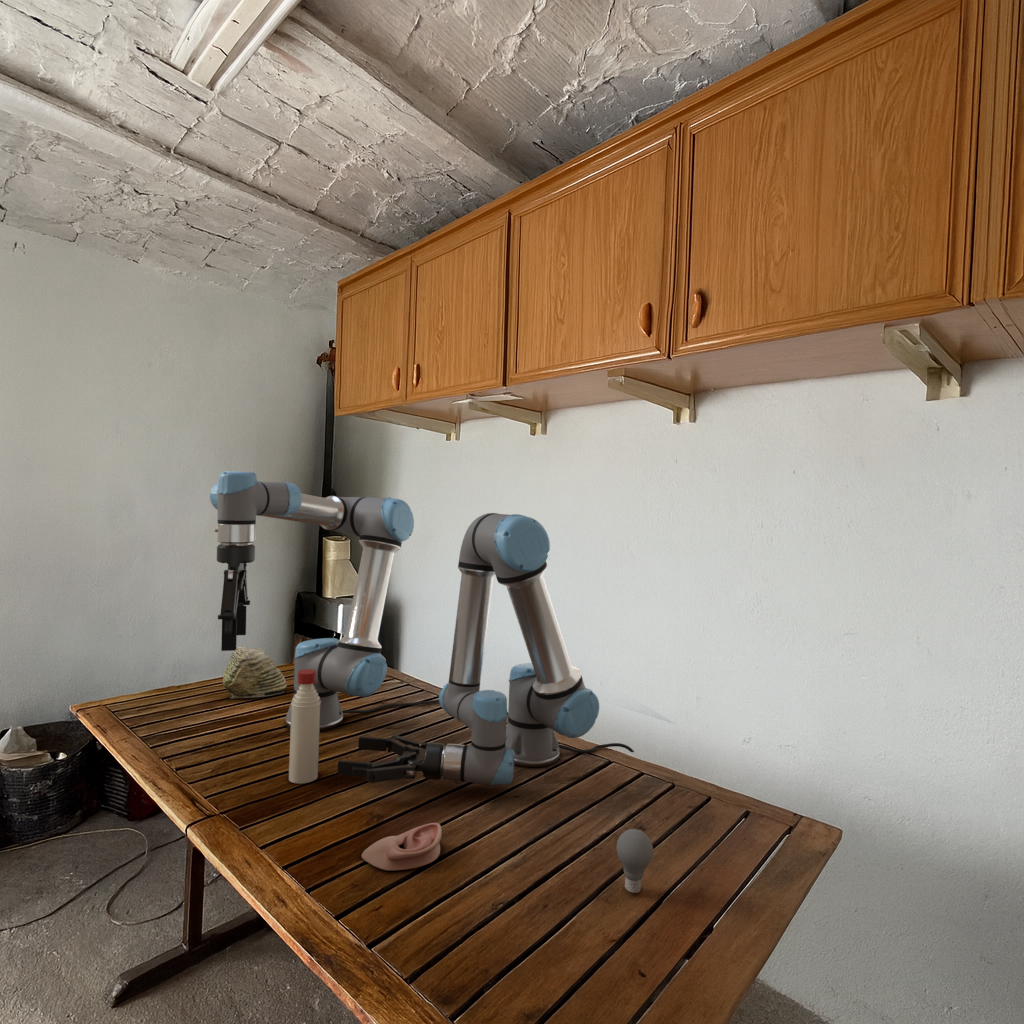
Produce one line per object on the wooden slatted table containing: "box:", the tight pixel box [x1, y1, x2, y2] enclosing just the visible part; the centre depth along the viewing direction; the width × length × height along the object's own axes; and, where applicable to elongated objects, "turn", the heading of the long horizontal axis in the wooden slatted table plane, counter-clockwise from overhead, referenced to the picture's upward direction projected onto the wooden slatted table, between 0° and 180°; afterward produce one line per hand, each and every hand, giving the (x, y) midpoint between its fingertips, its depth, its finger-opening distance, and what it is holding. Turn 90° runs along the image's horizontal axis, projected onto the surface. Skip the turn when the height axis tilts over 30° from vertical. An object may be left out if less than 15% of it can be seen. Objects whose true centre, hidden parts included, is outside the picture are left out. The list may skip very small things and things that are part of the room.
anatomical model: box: [361, 822, 443, 872], centre depth 114 cm, size 13×4×12 cm
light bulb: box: [615, 828, 654, 894], centre depth 106 cm, size 6×6×10 cm
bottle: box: [288, 684, 321, 785], centre depth 142 cm, size 6×6×24 cm
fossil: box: [222, 646, 288, 699], centre depth 198 cm, size 9×18×15 cm, turn 132°
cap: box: [298, 669, 316, 684], centre depth 142 cm, size 4×4×2 cm
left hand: (234, 642), depth 136 cm, fingers open, 13 cm apart
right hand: (349, 754), depth 141 cm, fingers open, 13 cm apart
